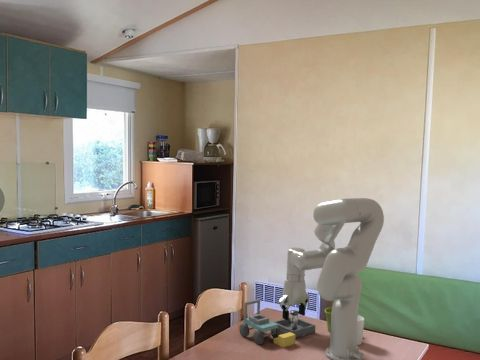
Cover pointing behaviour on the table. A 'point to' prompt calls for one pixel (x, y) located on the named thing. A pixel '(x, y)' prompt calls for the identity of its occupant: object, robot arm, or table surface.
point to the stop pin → (294, 319)
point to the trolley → (258, 324)
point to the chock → (285, 339)
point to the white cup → (359, 329)
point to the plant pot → (328, 318)
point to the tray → (302, 327)
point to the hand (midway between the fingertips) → (293, 317)
